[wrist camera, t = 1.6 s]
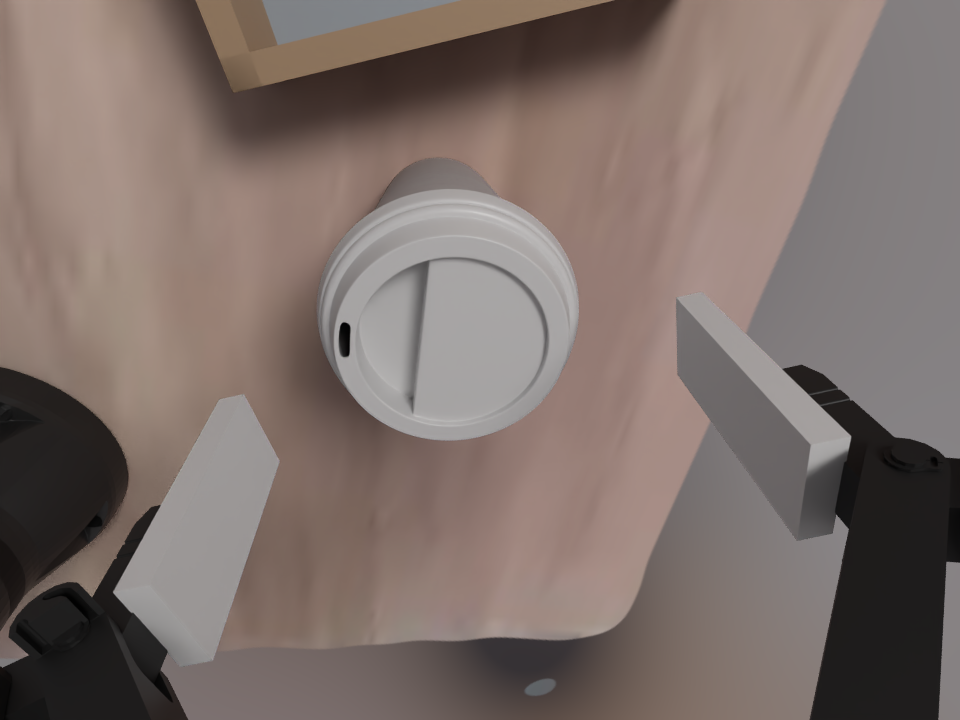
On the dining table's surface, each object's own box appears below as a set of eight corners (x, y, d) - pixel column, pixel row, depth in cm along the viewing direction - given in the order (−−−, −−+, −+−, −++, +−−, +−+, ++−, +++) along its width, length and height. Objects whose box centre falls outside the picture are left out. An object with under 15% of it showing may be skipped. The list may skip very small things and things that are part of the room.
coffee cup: (401, 89, 28) (385, 144, 15) (555, 184, 31) (650, 295, 18) (325, 249, 32) (263, 401, 19) (470, 319, 35) (499, 489, 22)
